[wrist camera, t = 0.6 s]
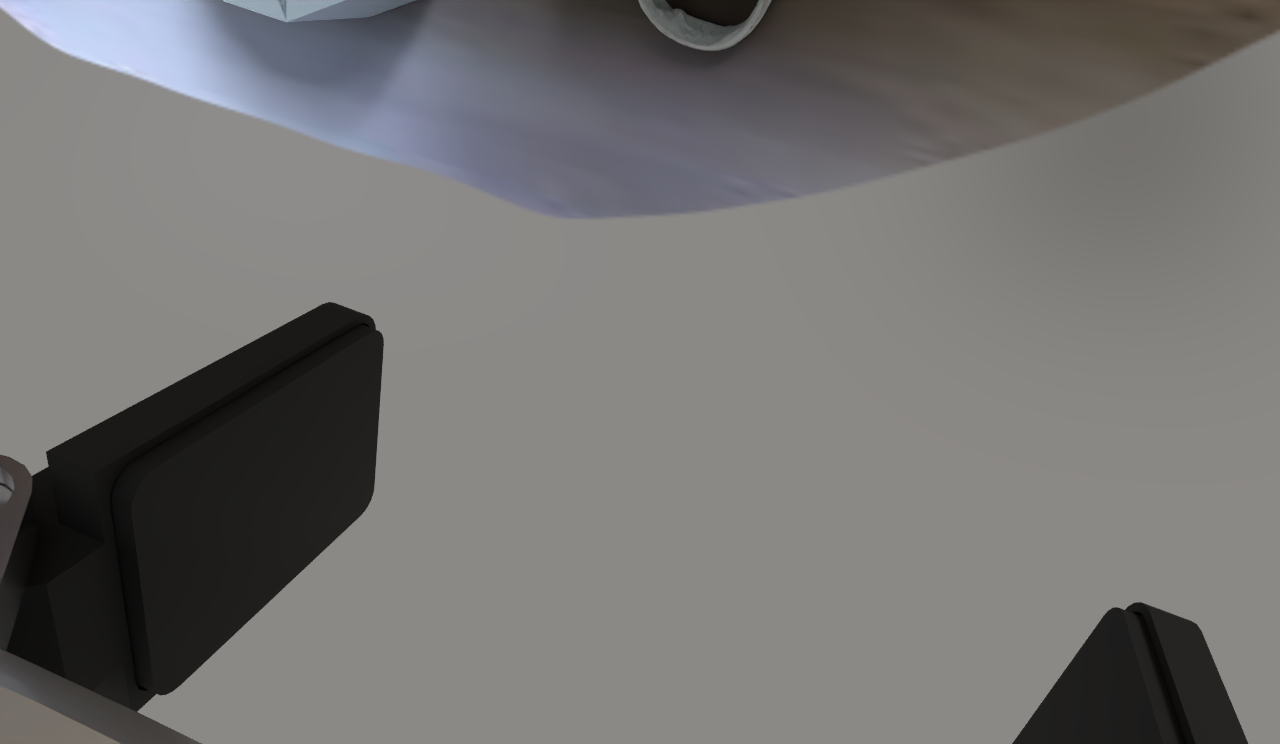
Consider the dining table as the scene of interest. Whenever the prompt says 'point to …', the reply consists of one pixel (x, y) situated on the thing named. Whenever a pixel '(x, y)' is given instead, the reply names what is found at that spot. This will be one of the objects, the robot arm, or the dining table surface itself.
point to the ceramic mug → (699, 26)
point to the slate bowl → (318, 8)
